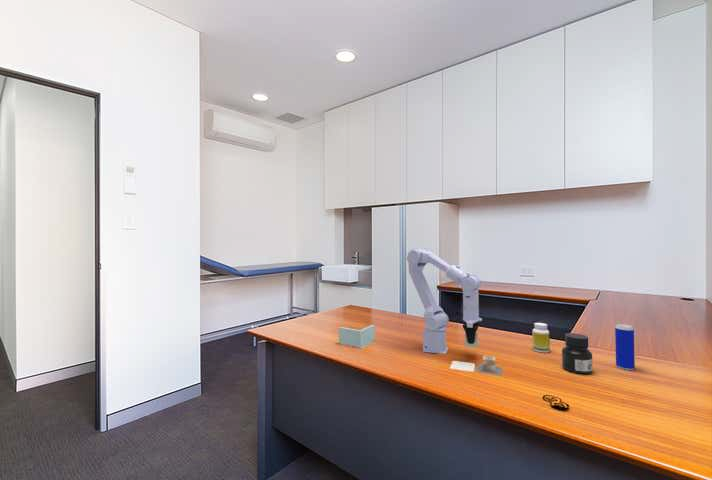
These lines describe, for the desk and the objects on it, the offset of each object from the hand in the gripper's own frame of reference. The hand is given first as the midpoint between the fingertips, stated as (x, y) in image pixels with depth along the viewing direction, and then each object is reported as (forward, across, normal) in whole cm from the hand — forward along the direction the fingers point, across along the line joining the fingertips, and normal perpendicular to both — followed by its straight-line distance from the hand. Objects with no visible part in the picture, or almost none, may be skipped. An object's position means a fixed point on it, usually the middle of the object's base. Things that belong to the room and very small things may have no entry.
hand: (471, 341), depth 126 cm
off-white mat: (+7, -10, +2) cm, 12 cm away
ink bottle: (+7, +2, -35) cm, 36 cm away
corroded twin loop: (+7, -28, -24) cm, 38 cm away
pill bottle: (+7, +20, -26) cm, 34 cm away
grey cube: (+6, -10, -7) cm, 13 cm away
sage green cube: (+2, 0, 0) cm, 2 cm away
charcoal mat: (+7, -10, -7) cm, 14 cm away
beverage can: (+7, +10, -51) cm, 53 cm away
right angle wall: (+7, +3, +50) cm, 51 cm away
